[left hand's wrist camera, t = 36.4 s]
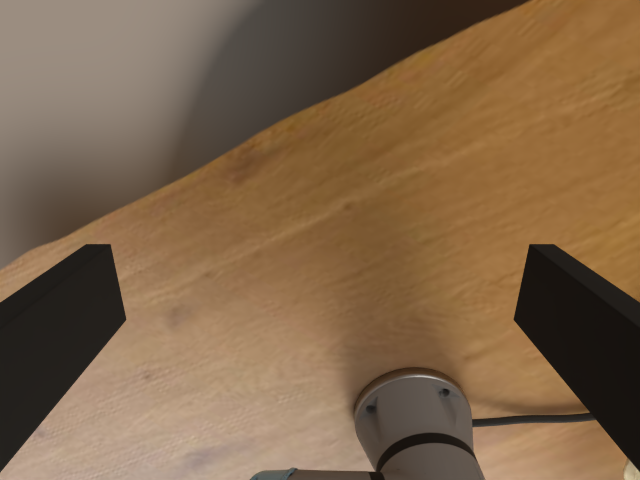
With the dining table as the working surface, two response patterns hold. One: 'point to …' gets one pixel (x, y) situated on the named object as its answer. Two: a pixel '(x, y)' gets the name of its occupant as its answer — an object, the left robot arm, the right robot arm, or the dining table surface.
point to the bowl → (630, 471)
